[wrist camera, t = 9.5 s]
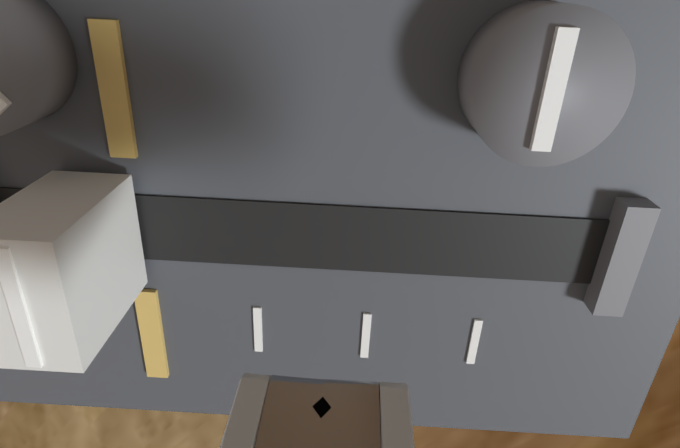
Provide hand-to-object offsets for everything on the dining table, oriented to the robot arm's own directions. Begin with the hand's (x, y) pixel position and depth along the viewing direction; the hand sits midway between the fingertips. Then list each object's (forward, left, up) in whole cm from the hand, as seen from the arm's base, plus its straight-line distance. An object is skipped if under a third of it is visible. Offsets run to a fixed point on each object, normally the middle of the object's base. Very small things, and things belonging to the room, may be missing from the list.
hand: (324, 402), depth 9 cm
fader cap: (+1, -8, -8) cm, 11 cm away
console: (+1, -1, -11) cm, 11 cm away
